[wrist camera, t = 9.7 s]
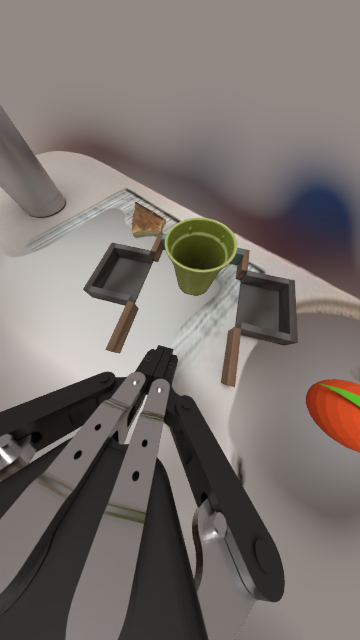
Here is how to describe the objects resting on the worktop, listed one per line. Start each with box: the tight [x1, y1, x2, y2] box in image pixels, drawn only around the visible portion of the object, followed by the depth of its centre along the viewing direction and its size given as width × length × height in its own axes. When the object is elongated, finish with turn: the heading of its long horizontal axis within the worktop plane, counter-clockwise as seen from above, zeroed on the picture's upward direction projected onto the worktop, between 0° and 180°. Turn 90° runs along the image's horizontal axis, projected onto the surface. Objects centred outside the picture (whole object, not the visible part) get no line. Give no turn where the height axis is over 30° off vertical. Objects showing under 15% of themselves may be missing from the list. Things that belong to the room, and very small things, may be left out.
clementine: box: [306, 379, 360, 452], centre depth 15 cm, size 8×7×7 cm
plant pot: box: [165, 218, 237, 296], centre depth 21 cm, size 9×9×9 cm
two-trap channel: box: [83, 233, 298, 387], centre depth 22 cm, size 34×24×2 cm
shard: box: [132, 202, 166, 238], centre depth 31 cm, size 11×8×2 cm
